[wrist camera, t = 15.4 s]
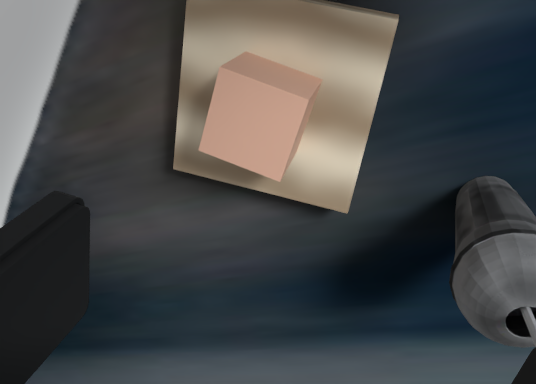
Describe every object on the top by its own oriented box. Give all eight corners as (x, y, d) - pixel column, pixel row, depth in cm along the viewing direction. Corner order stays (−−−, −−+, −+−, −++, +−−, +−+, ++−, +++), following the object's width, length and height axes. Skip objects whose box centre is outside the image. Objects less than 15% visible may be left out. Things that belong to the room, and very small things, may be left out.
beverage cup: (440, 242, 43) (466, 438, 26) (435, 163, 41) (461, 320, 23) (534, 239, 41) (633, 448, 23) (536, 155, 38) (649, 321, 21)
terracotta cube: (245, 51, 37) (219, 66, 32) (322, 79, 36) (309, 99, 31) (225, 124, 40) (198, 150, 34) (296, 152, 39) (280, 182, 34)
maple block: (207, -23, 39) (188, -22, 36) (399, 14, 37) (398, 19, 34) (190, 152, 46) (173, 169, 43) (352, 193, 44) (347, 213, 40)
